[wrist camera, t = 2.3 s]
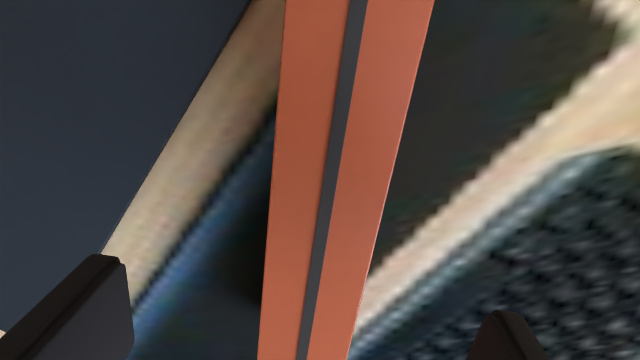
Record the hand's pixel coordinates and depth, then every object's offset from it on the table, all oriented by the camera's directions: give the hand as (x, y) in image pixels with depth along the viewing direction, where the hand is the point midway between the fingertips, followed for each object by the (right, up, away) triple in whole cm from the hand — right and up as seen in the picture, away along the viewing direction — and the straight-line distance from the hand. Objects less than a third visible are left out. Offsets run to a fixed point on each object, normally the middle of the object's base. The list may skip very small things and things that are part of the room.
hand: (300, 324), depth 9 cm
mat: (-14, +5, +8) cm, 17 cm away
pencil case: (+1, +4, +8) cm, 9 cm away
